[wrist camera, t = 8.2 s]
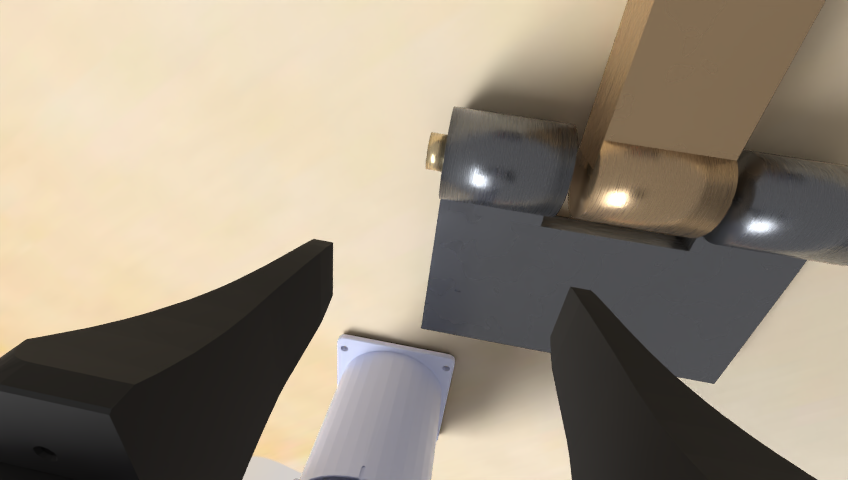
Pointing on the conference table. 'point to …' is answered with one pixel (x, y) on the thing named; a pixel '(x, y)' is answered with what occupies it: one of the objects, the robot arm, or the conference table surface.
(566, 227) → the metal hinge
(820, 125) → the conference table surface
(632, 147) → the brown boxy piece
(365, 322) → the conference table surface
